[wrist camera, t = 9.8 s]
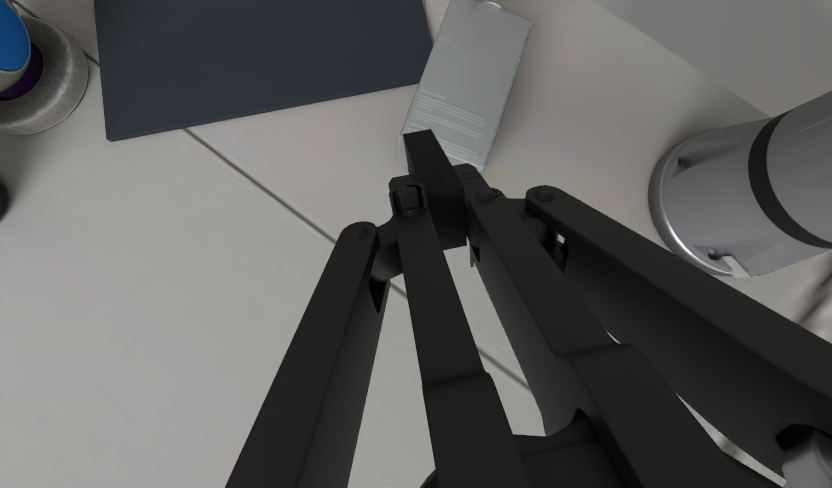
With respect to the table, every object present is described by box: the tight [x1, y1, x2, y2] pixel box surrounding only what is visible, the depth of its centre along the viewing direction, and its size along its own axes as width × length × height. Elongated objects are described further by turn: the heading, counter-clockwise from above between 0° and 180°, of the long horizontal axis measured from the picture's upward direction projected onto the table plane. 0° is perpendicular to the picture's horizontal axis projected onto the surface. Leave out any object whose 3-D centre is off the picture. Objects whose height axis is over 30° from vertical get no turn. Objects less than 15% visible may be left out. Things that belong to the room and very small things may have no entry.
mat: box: [94, 0, 433, 142], centre depth 36 cm, size 36×22×1 cm, turn 102°
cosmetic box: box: [397, 0, 533, 173], centre depth 32 cm, size 8×7×16 cm
